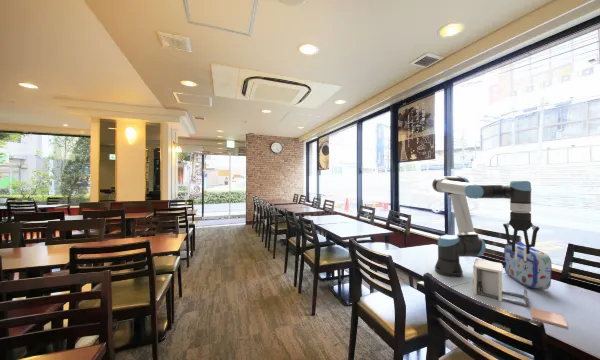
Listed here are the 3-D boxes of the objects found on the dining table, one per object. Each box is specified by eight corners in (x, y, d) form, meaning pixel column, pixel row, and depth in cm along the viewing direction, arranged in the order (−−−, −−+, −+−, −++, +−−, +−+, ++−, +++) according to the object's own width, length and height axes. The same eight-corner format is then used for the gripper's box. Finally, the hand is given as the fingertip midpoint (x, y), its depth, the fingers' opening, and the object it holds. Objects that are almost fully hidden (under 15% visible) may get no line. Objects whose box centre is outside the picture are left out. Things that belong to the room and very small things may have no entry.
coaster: (532, 318, 100) (532, 316, 100) (530, 308, 108) (530, 307, 108) (567, 328, 94) (567, 326, 94) (562, 317, 101) (562, 315, 101)
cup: (502, 299, 117) (502, 275, 117) (482, 294, 121) (482, 271, 121) (499, 292, 124) (499, 269, 124) (480, 288, 128) (480, 266, 128)
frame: (477, 293, 122) (477, 285, 122) (479, 286, 130) (479, 279, 130) (528, 306, 109) (528, 298, 109) (526, 297, 118) (526, 289, 118)
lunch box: (499, 272, 151) (499, 238, 151) (517, 273, 149) (517, 238, 149) (532, 292, 124) (531, 250, 124) (555, 293, 122) (555, 251, 122)
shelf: (473, 294, 122) (473, 265, 122) (475, 284, 133) (475, 258, 133) (501, 301, 114) (501, 271, 114) (501, 291, 125) (501, 263, 125)
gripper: (499, 211, 117) (499, 257, 117) (544, 214, 107) (544, 265, 107) (499, 209, 123) (499, 254, 123) (542, 212, 113) (542, 260, 113)
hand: (520, 259), depth 115 cm, fingers open, 3 cm apart
